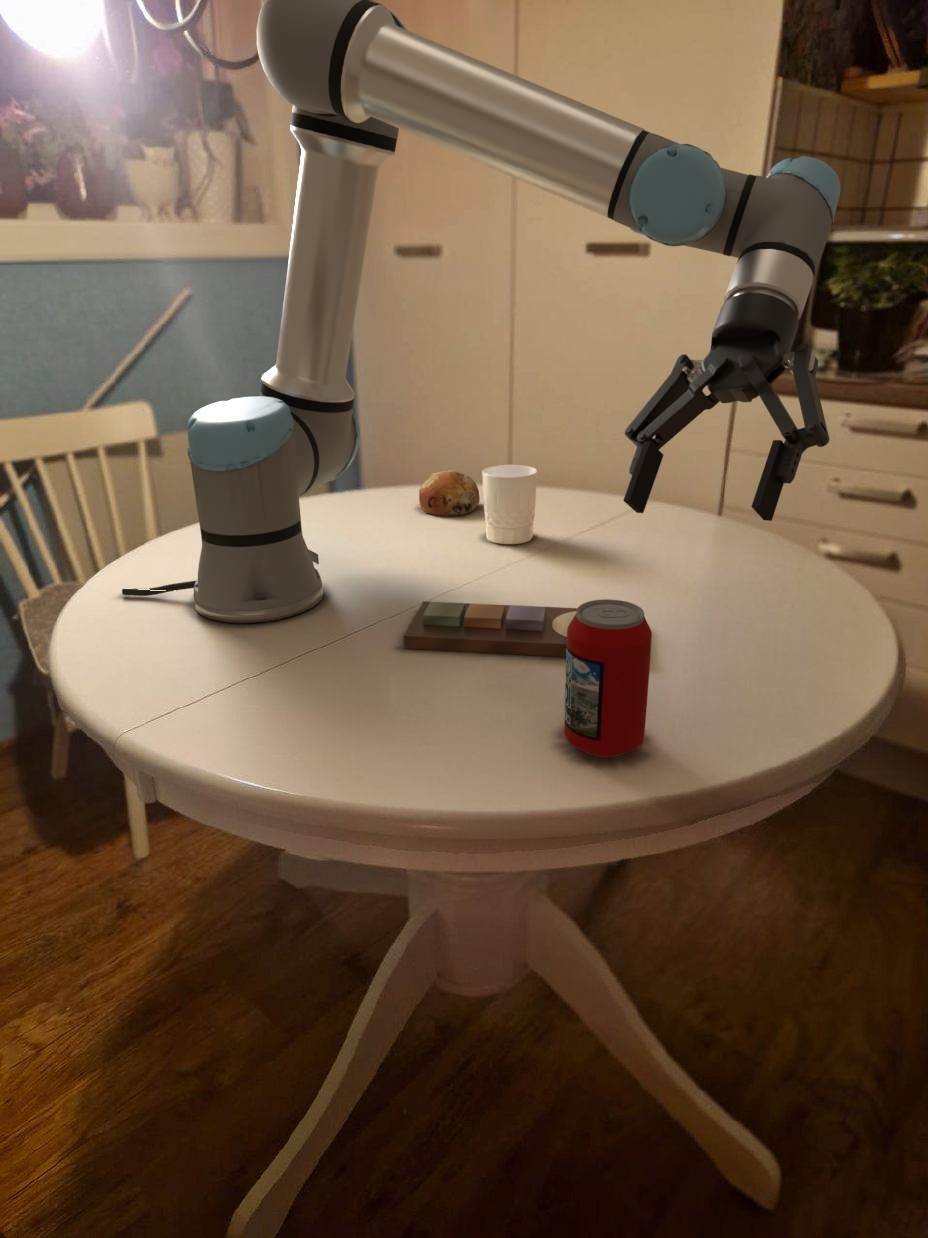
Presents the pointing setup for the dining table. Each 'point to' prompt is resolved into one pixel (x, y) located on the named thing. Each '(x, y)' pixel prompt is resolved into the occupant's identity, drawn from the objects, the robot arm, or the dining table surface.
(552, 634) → the paint palette tray
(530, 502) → the white cup
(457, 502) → the bread roll
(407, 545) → the dining table surface
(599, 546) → the dining table surface
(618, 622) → the beverage can
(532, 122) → the robot arm
